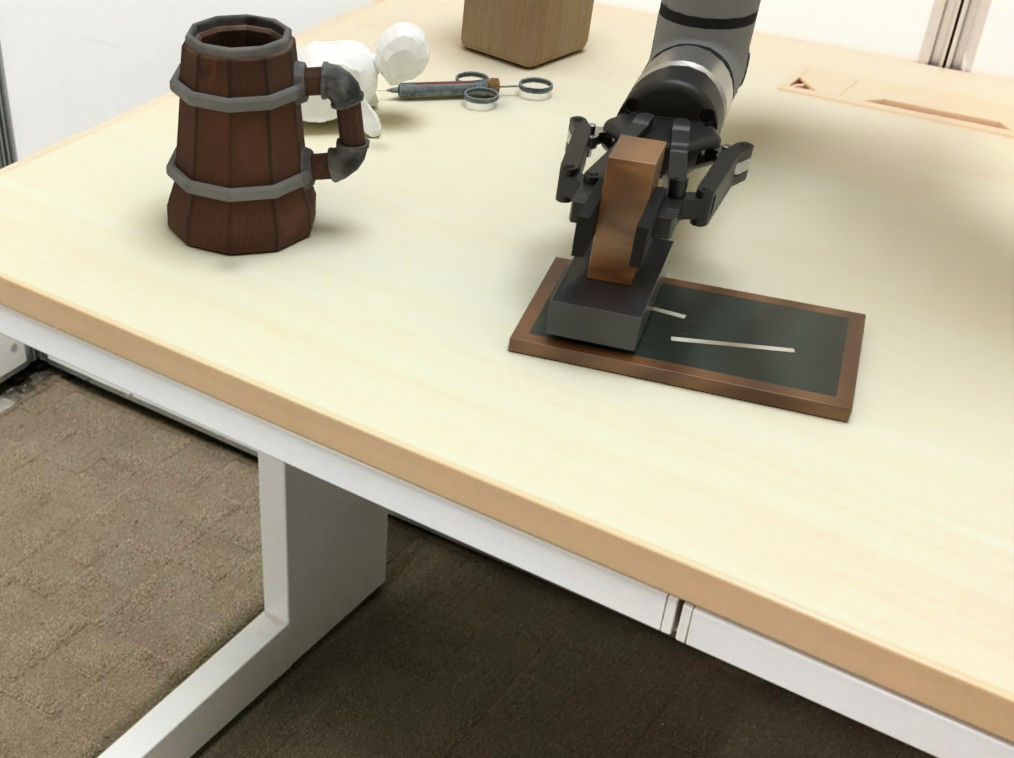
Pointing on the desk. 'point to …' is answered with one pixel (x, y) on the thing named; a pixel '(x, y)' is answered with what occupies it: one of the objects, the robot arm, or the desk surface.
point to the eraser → (615, 257)
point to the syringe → (467, 87)
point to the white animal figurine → (368, 68)
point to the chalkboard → (721, 345)
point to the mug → (253, 136)
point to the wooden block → (526, 28)
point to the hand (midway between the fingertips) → (609, 242)
